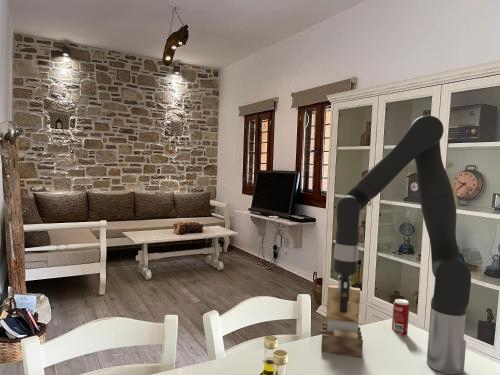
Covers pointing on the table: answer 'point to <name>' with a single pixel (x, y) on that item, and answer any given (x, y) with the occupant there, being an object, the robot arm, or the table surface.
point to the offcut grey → (341, 325)
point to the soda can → (400, 316)
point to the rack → (341, 344)
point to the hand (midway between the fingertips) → (342, 307)
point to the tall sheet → (334, 305)
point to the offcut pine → (345, 334)
